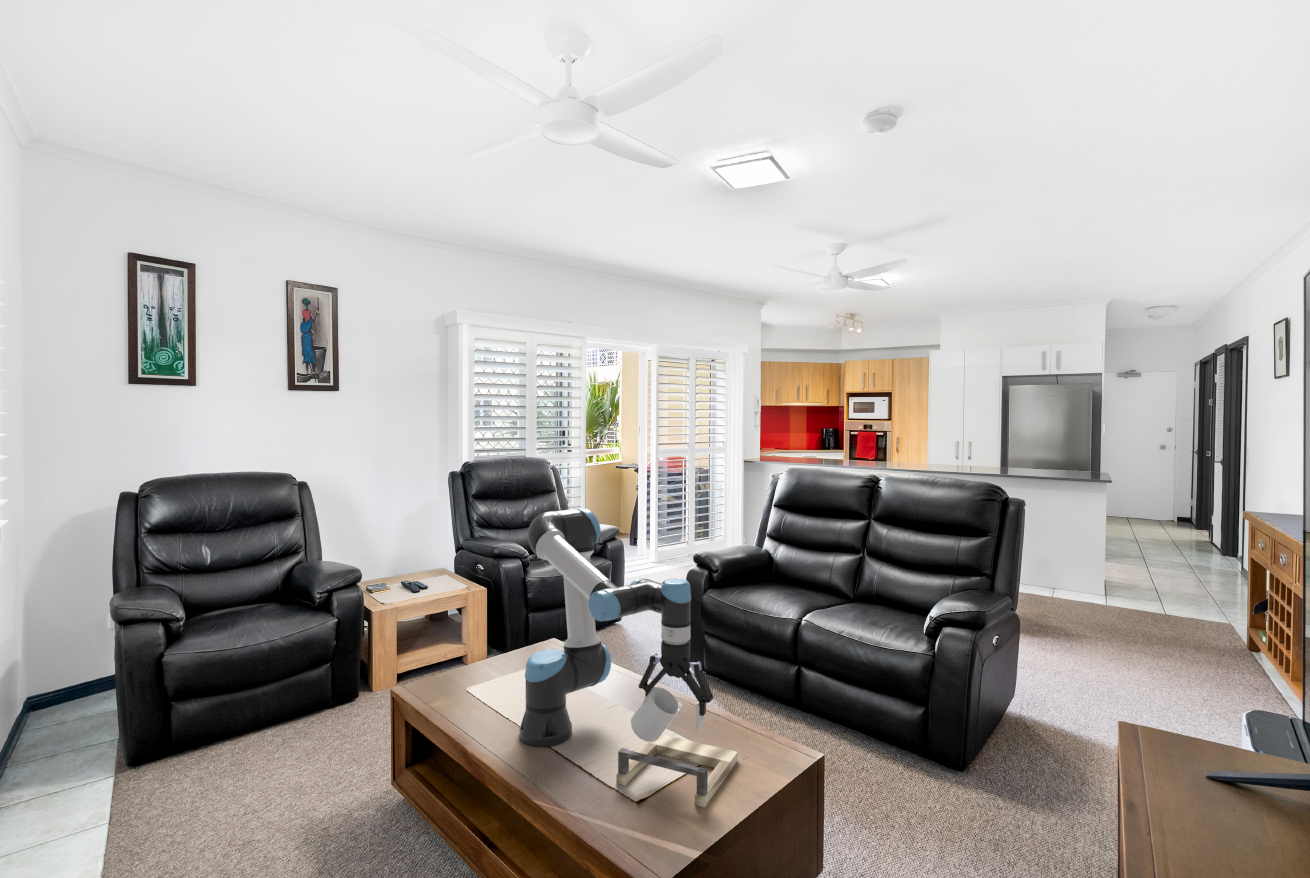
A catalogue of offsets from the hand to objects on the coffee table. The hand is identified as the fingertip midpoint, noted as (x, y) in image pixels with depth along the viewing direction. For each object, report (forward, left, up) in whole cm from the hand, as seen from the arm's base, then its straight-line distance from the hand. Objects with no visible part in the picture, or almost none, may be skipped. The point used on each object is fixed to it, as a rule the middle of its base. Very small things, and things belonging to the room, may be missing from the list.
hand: (674, 721), depth 167 cm
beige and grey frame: (0, +2, -14) cm, 14 cm away
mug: (-9, +1, -4) cm, 10 cm away
